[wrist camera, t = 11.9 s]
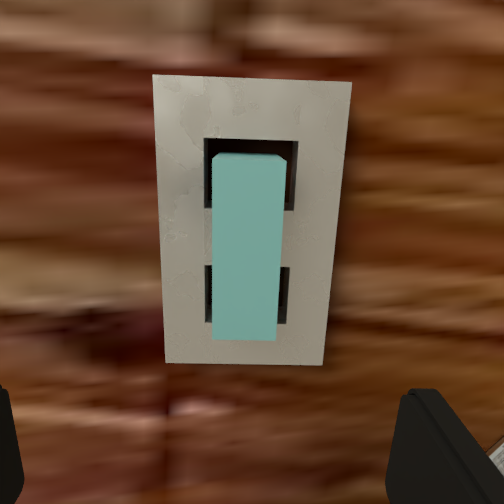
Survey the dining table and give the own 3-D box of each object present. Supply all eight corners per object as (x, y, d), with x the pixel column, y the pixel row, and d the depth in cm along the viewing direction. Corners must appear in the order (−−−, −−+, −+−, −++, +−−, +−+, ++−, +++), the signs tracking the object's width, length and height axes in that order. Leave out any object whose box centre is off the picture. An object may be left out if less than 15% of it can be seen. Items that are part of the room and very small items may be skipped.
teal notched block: (268, 294, 30) (275, 340, 24) (219, 293, 30) (212, 339, 23) (276, 153, 27) (286, 161, 20) (220, 151, 27) (212, 158, 20)
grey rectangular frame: (315, 344, 32) (322, 365, 29) (172, 341, 31) (165, 362, 28) (340, 87, 25) (352, 82, 23) (162, 80, 25) (152, 74, 22)
